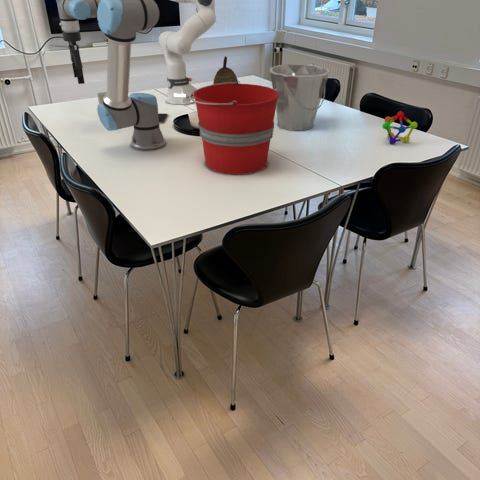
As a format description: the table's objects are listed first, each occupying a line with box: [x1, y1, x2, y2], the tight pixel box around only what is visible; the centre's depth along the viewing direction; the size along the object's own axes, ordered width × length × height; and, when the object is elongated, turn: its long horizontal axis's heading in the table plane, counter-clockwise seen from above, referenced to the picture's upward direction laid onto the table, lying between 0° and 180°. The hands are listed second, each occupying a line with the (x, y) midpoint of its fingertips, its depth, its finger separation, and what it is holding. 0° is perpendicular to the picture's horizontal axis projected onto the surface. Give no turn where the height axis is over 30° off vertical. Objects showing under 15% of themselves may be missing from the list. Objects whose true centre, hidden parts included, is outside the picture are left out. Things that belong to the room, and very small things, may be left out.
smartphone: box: [158, 113, 169, 124], centre depth 241 cm, size 7×1×15 cm
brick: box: [97, 91, 107, 105], centre depth 246 cm, size 5×6×11 cm
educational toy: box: [382, 110, 418, 145], centre depth 207 cm, size 16×13×15 cm
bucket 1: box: [190, 81, 279, 175], centre depth 181 cm, size 35×35×30 cm
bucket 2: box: [269, 63, 330, 131], centre depth 226 cm, size 30×30×28 cm
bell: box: [212, 56, 239, 85], centre depth 278 cm, size 19×26×20 cm
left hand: (79, 80), depth 209 cm, fingers open, 13 cm apart
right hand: (132, 30), depth 278 cm, fingers open, 8 cm apart
